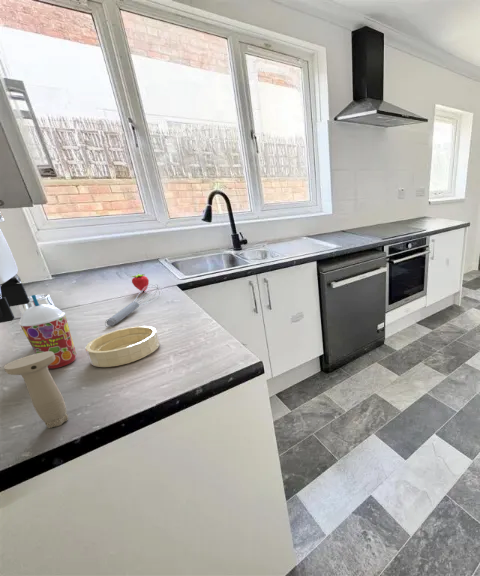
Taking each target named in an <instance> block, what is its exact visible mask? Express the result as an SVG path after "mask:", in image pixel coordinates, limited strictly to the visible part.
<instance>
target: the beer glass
mask: <svg viewBox="0 0 480 576" xmlns="http://www.w3.org/2000/svg"><path fill="white" fill-rule="evenodd" d="M34 295H35V296H36V299H37V301H38V303H39V304H47V305H52V306H55V304H54V302H53V300H52V298H51V296H50V294H48V293H39V294H34ZM27 296H28V298H29V301H30V302H29V303H28V304H23V305H18V308H19V311H20V314H21V315H22V314H23V313H24V311H26V310H27V309H28V308H30V307H32V306H35V303H34V301H33V299H32V295H27Z"/></svg>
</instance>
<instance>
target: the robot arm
mask: <svg viewBox="0 0 480 576" xmlns="http://www.w3.org/2000/svg"><path fill="white" fill-rule="evenodd" d="M1 210H2V209H0V223H4V222H5V221H6V219H5V218H4V215H3V213H2V211H1ZM18 272H19V268H18V264H17V262H16V259H15V257H14V254H13V251H12V250H11V248H10V245H9V243H8V241H7V239H6V237H5V235H4V232H3V231H2V229H1V228H0V324H1V323H7V322H11V321H14V319H15V315H14V313H13V311H12V309H11V307H15V306H19V305H23V304H28V303H29V302H30V301H29V298H28V296H29V295H28V293H27V291H26V288H25V287H24V284H23V283H22V280H21V277H20V276H19V275H18Z"/></svg>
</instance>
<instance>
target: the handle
mask: <svg viewBox="0 0 480 576" xmlns="http://www.w3.org/2000/svg"><path fill="white" fill-rule="evenodd" d="M55 359H56V358H55V355H54V353H53V352H52V351H47V352H42V353H37V354H36V353H33V354H30V355H26V356H23V357H21V358H18V359H15V360H12V361H10V362H8V363H6V364H5V365H4V366H3V369H4V371H5V372H6V374H7V375H10V376H21V378H22V379H23V380H24V383H25V387H26V388H27V391H28V393H29V397H30V400H31V403H32V405H33V408H34V410H35V412H36V414H37V415H38V417H39V418H40V419H41V421H42V422H44V424H45V426H46V427H47V428H48V429H52V428H56V427H59V426H62V425H63V424H64V423H65V422H67V421H68V420H69V414H67V405H66V402H65V400H64V397H63V395H62V393H61V390H60V389H59V387H58V385H57V384H56V382H55V380H54V378H53V376H52V374H51V372H50V370H49V368H48V365H50V364H51V363H52V362H54V360H55Z"/></svg>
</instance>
